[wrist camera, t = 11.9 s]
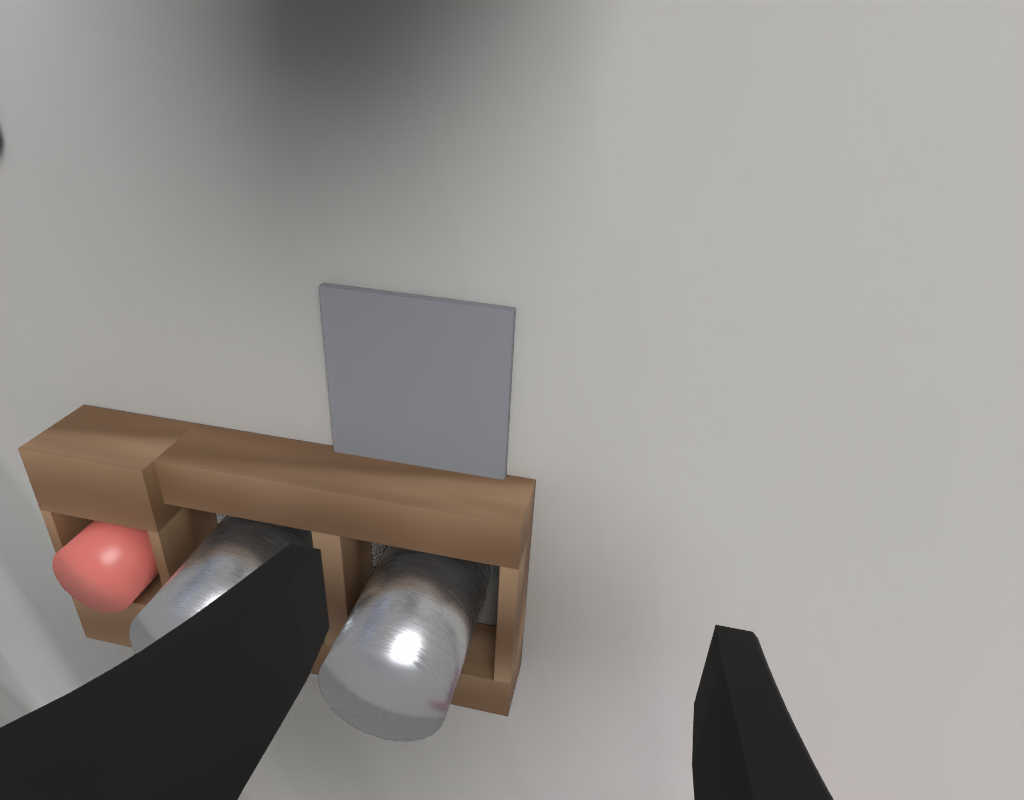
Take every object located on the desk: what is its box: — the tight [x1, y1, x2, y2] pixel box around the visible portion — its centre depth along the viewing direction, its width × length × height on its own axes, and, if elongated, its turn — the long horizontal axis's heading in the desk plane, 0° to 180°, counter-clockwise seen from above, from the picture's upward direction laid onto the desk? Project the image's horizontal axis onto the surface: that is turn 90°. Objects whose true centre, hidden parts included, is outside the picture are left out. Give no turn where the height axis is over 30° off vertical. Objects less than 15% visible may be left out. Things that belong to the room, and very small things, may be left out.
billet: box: [318, 546, 493, 741], centre depth 23 cm, size 4×4×6 cm
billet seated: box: [129, 515, 313, 654], centre depth 25 cm, size 4×4×6 cm
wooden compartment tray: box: [18, 405, 536, 716], centre depth 26 cm, size 9×17×3 cm, turn 88°
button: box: [53, 521, 159, 613], centre depth 26 cm, size 3×3×3 cm
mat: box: [319, 283, 516, 480], centre depth 22 cm, size 6×6×1 cm
